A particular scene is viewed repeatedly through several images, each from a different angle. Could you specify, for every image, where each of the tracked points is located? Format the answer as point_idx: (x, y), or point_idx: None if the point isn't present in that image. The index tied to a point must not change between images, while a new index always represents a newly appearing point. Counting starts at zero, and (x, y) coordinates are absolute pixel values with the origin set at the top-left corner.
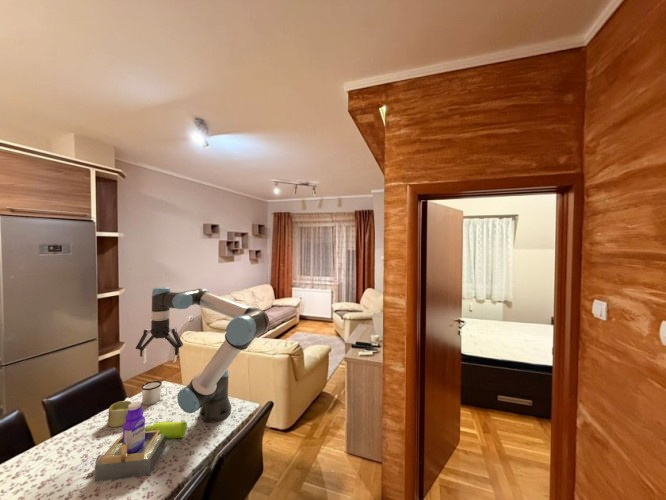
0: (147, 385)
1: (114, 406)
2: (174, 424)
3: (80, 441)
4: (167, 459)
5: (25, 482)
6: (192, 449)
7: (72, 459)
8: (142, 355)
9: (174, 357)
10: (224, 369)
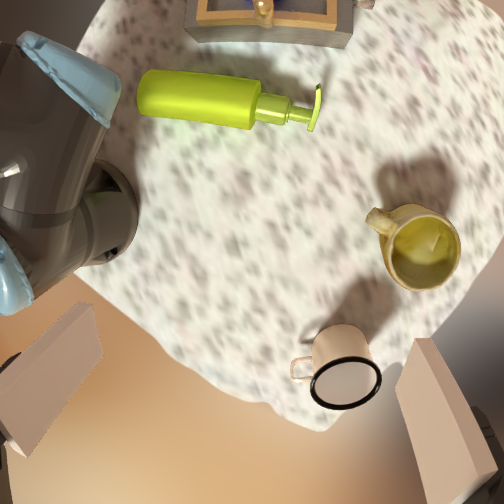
0: (363, 393)
1: (446, 268)
2: (169, 84)
3: (473, 156)
4: (178, 3)
5: (493, 32)
6: (122, 38)
7: (452, 71)
8: (468, 412)
9: (46, 330)
10: None
